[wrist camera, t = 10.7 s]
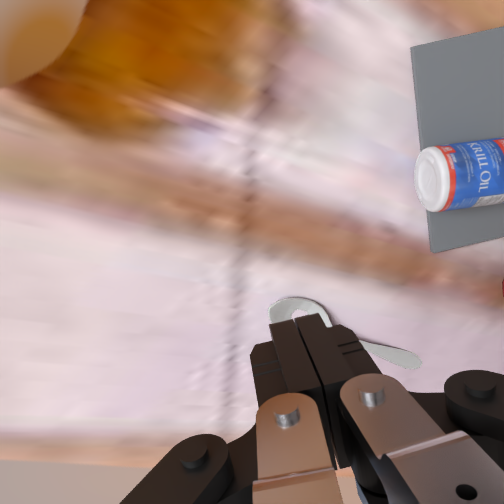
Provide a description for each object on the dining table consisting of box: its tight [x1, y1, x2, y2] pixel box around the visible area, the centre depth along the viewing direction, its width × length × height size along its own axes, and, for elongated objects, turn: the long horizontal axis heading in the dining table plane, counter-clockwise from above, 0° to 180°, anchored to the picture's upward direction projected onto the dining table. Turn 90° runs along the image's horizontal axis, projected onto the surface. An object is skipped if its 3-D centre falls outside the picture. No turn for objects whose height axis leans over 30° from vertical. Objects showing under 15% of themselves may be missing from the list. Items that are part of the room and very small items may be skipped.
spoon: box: [268, 298, 422, 369], centre depth 44 cm, size 4×21×2 cm, turn 65°
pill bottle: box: [414, 137, 504, 212], centre depth 37 cm, size 6×5×10 cm
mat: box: [410, 26, 504, 253], centre depth 39 cm, size 18×11×1 cm, turn 12°
